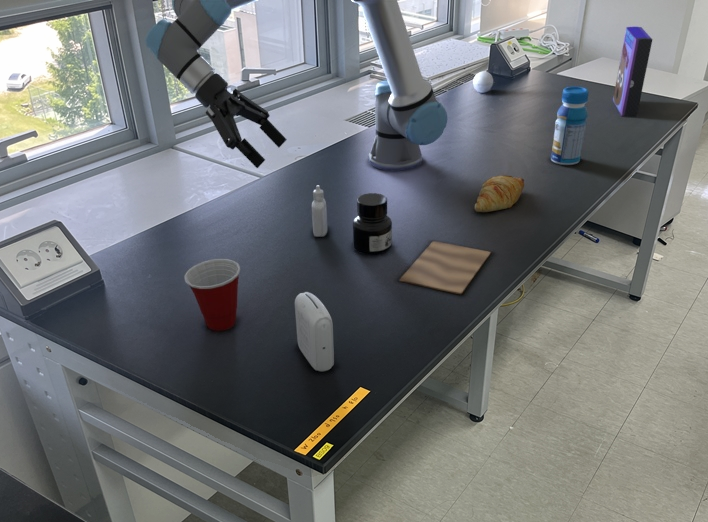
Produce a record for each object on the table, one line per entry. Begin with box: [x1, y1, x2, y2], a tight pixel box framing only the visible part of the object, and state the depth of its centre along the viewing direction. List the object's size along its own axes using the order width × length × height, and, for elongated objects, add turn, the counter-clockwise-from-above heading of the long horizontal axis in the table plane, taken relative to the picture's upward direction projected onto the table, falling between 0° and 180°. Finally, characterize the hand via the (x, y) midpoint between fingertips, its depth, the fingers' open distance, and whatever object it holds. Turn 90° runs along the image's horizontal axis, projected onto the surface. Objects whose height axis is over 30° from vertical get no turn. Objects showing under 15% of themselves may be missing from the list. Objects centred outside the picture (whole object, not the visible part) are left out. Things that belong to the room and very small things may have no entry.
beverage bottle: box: [550, 86, 590, 166], centre depth 203 cm, size 8×8×20 cm
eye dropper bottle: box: [311, 184, 329, 238], centre depth 173 cm, size 4×6×12 cm
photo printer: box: [294, 291, 335, 372], centre depth 131 cm, size 10×4×12 cm, turn 24°
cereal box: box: [612, 26, 653, 118], centre depth 238 cm, size 17×5×24 cm, turn 172°
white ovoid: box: [472, 70, 494, 94], centre depth 263 cm, size 10×7×7 cm
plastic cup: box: [183, 258, 241, 332], centre depth 141 cm, size 11×11×12 cm
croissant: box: [474, 174, 525, 213], centre depth 186 cm, size 21×10×8 cm, turn 139°
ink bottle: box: [352, 192, 393, 256], centre depth 166 cm, size 10×9×12 cm
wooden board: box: [398, 240, 492, 296], centre depth 160 cm, size 20×14×1 cm
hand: (272, 153), depth 168 cm, fingers open, 13 cm apart
